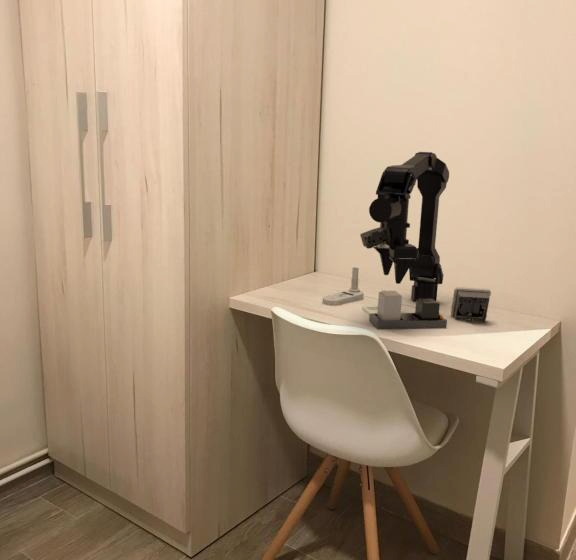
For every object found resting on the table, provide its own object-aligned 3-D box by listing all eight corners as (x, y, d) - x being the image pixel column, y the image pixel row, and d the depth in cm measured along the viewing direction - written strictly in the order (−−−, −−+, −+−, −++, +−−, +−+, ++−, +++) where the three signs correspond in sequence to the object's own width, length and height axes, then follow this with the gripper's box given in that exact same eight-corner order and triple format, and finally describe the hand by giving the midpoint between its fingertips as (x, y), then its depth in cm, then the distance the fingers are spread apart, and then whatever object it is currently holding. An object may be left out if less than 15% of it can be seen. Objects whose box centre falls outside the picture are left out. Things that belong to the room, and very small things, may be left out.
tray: (393, 310, 172) (393, 306, 172) (403, 318, 164) (403, 313, 164) (362, 310, 171) (362, 306, 170) (370, 318, 163) (370, 314, 163)
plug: (393, 322, 159) (396, 290, 157) (399, 327, 155) (402, 294, 153) (376, 322, 158) (379, 290, 157) (382, 327, 154) (384, 294, 152)
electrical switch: (485, 319, 167) (489, 286, 164) (489, 326, 162) (493, 293, 159) (449, 317, 168) (453, 284, 165) (452, 324, 163) (456, 291, 160)
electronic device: (319, 272, 174) (354, 265, 184) (318, 306, 176) (352, 297, 186) (333, 276, 170) (368, 268, 180) (332, 310, 172) (366, 300, 182)
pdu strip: (435, 322, 162) (437, 296, 161) (446, 330, 156) (448, 303, 154) (368, 322, 159) (370, 297, 158) (377, 331, 153) (378, 304, 151)
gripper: (354, 213, 162) (351, 271, 165) (376, 223, 144) (372, 288, 148) (395, 213, 164) (391, 270, 167) (421, 223, 146) (416, 288, 149)
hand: (391, 279), depth 158 cm, fingers open, 9 cm apart
